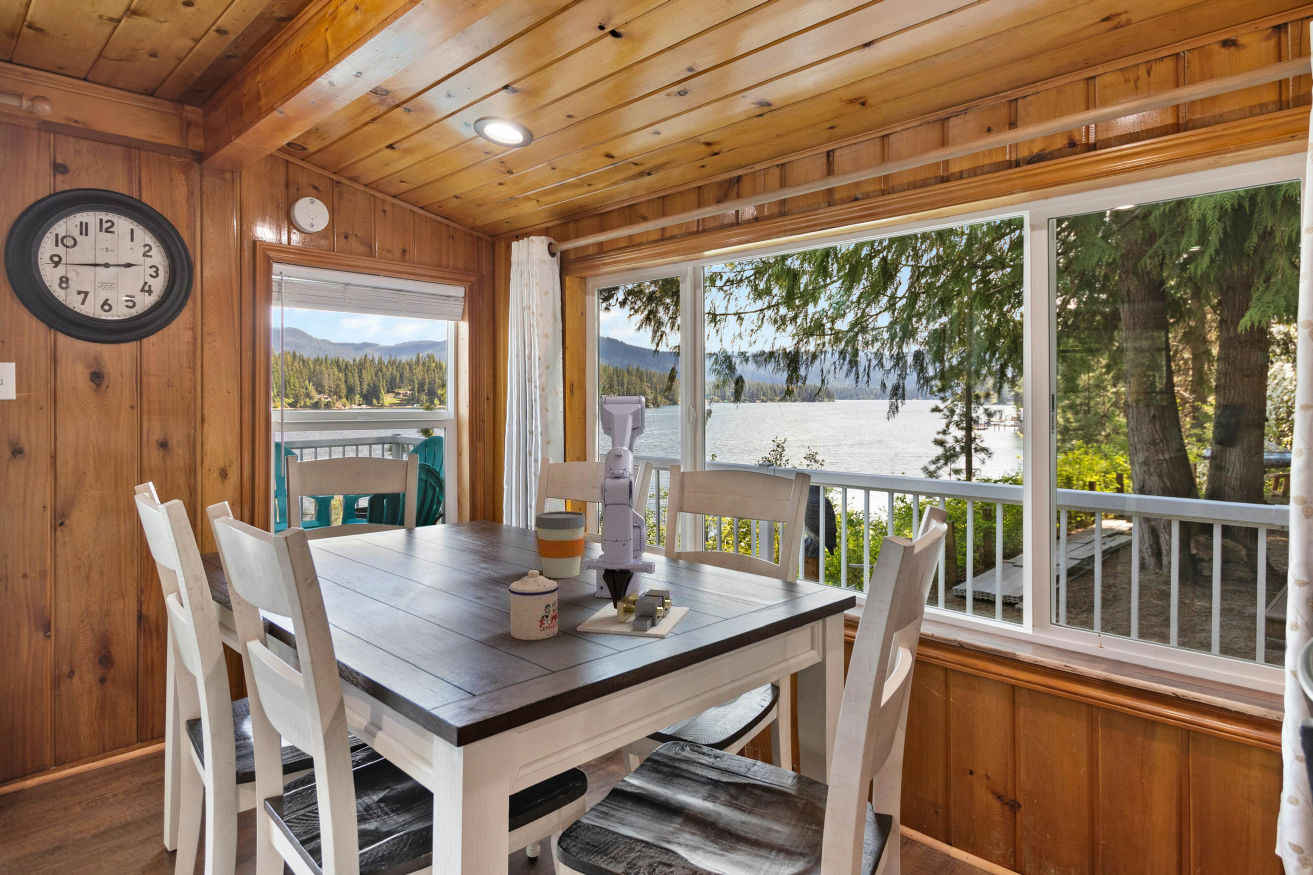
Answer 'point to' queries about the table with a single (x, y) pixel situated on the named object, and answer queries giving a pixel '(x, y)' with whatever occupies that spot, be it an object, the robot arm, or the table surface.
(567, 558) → the reusable coffee cup
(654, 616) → the chain end near
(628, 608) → the gold metal bracket
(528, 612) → the teacup with lid
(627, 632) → the mat
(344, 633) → the table surface
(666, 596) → the dark grey notched block
